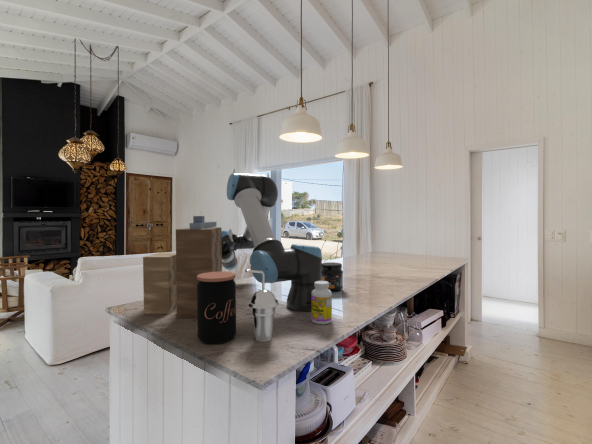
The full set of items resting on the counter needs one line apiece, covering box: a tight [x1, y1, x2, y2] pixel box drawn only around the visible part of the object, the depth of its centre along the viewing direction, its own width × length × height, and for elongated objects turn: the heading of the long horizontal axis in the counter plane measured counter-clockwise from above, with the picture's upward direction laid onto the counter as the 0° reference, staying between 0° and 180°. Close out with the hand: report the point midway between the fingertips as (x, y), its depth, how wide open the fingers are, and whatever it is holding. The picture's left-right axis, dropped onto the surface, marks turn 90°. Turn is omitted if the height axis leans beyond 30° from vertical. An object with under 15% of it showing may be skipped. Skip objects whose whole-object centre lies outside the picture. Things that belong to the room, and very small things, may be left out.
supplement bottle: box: [310, 281, 333, 325], centre depth 105 cm, size 7×7×13 cm
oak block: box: [142, 252, 177, 315], centre depth 120 cm, size 14×9×20 cm, turn 179°
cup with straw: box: [244, 269, 279, 343], centre depth 91 cm, size 8×9×20 cm
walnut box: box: [175, 226, 223, 319], centre depth 116 cm, size 14×12×30 cm
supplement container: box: [322, 261, 344, 293], centre depth 149 cm, size 10×10×12 cm
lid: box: [189, 215, 217, 229], centre depth 120 cm, size 20×4×4 cm, turn 179°
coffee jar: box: [196, 271, 237, 345], centre depth 91 cm, size 11×11×18 cm
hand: (213, 232), depth 135 cm, fingers open, 13 cm apart
